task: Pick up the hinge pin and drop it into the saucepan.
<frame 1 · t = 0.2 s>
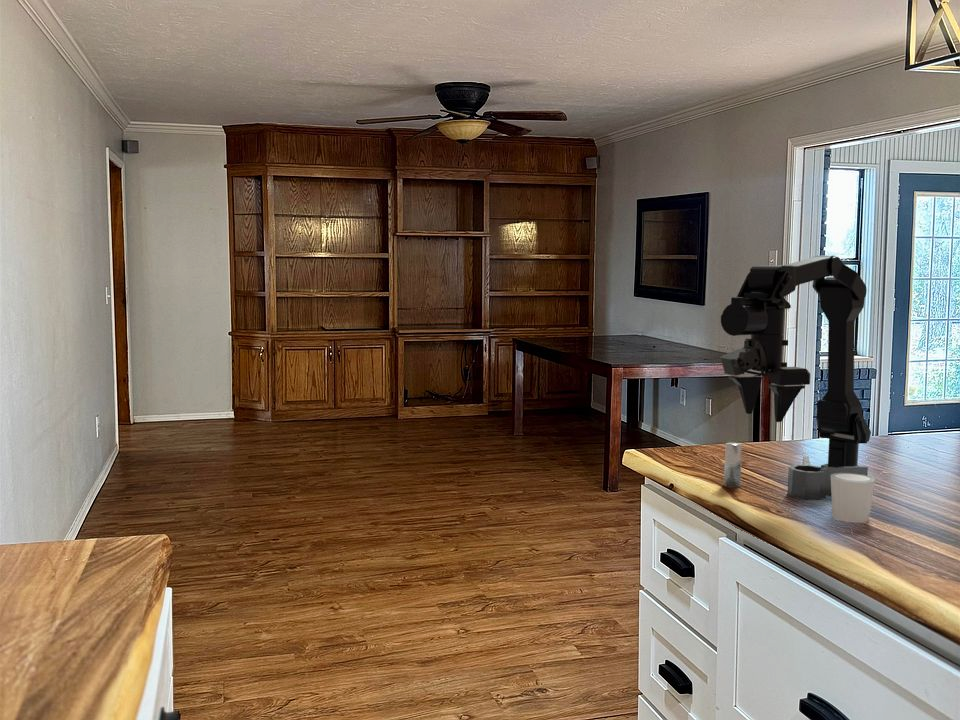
hand: (763, 417, 163), 14 cm above the worktop, fingers open, 9 cm apart
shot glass: (850, 519, 146), on the worktop
hinge pin: (732, 485, 167), on the worktop
saucepan: (806, 495, 160), on the worktop
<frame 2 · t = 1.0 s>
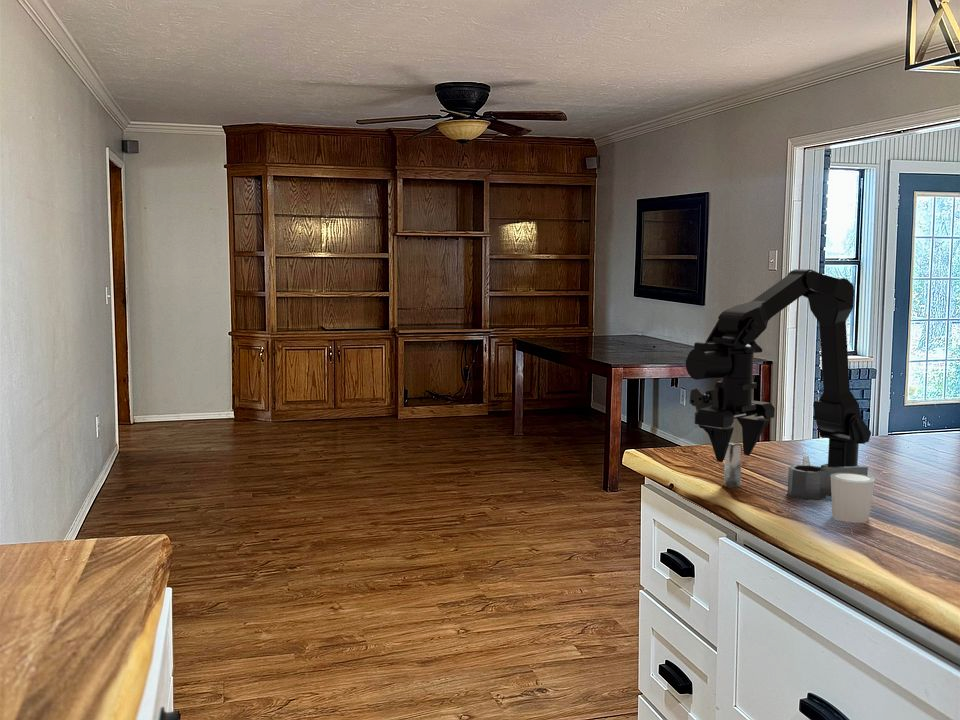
hand: (733, 458, 167), 5 cm above the worktop, fingers open, 9 cm apart
nothing on the worktop moved.
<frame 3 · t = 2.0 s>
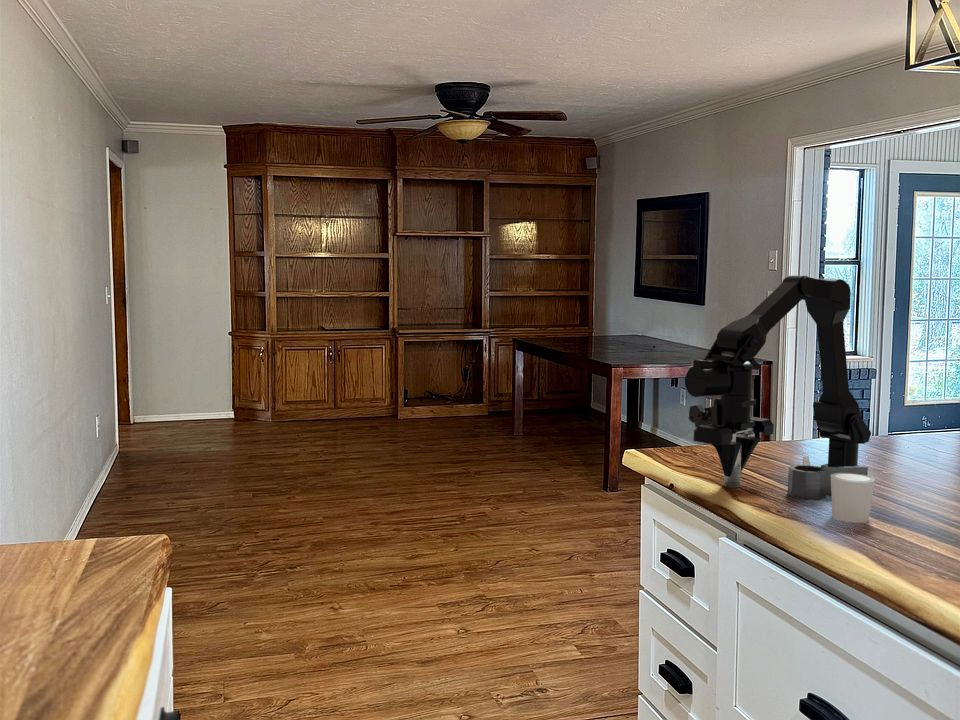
hand: (732, 474, 167), 2 cm above the worktop, fingers closed on hinge pin, 3 cm apart
hinge pin: (732, 485, 167), on the worktop, touching gripper
everything else where it was.
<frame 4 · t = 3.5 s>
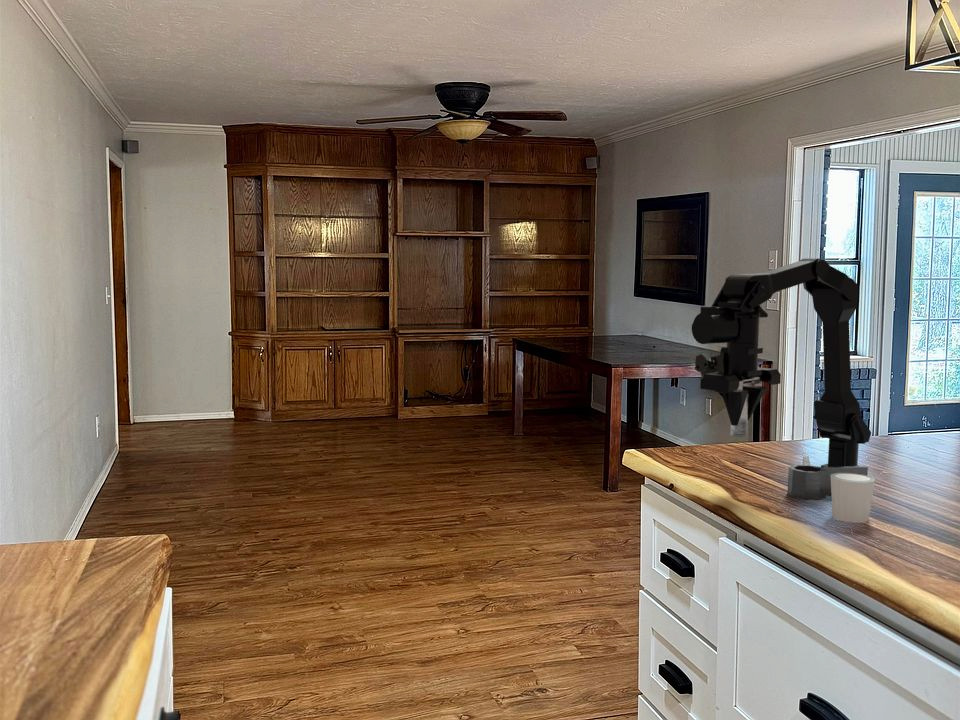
hand: (739, 424, 166), 12 cm above the worktop, fingers closed on hinge pin, 3 cm apart
hinge pin: (738, 435, 166), point 10 cm above the worktop, touching gripper
everything else where it was.
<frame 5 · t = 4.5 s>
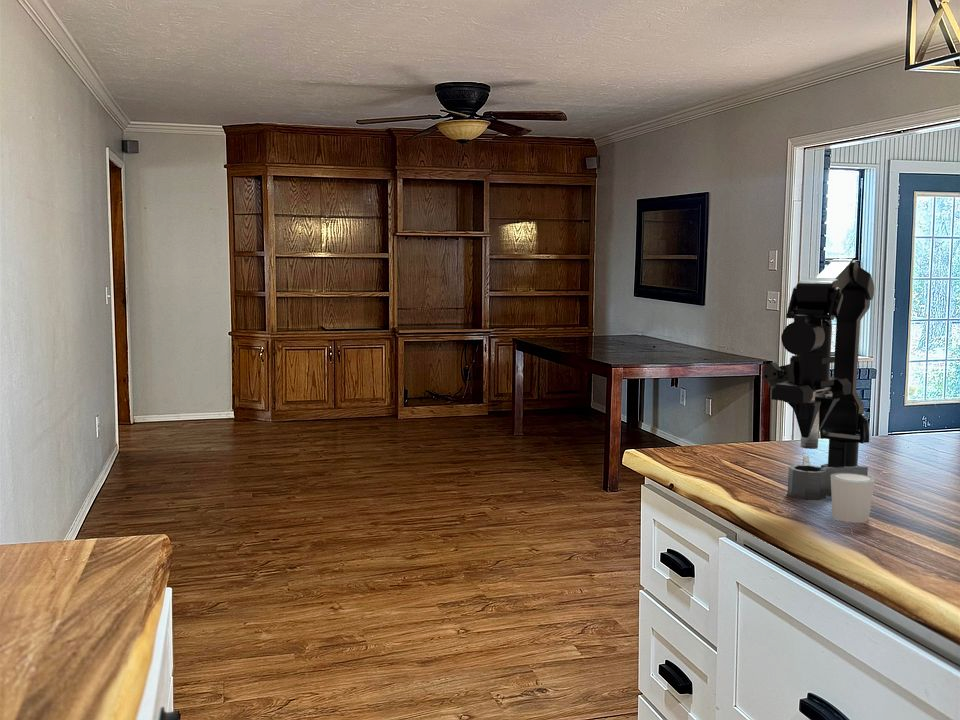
hand: (809, 436, 159), 11 cm above the worktop, fingers closed on hinge pin, 3 cm apart
hinge pin: (809, 447, 159), point 9 cm above the worktop, touching gripper
everything else where it was.
when the fingers open (8 cm above the worktop, at t = 5.1 s): hinge pin drops 6 cm, resting in saucepan.
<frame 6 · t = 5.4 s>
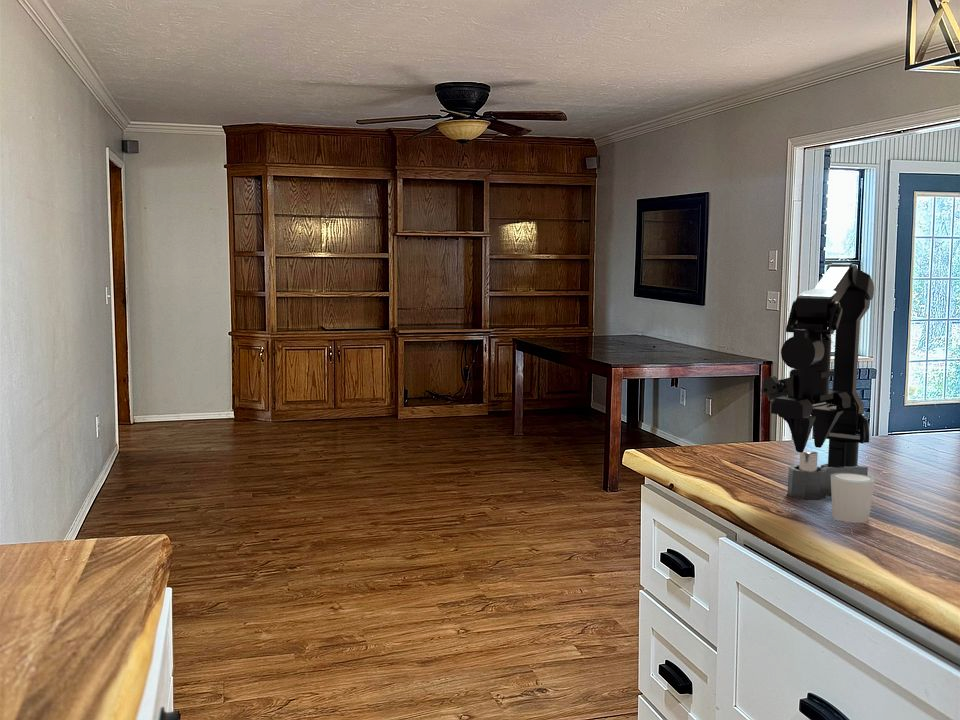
hand: (808, 449, 159), 8 cm above the worktop, fingers open, 6 cm apart
hinge pin: (806, 495, 160), resting in saucepan
everything else where it was.
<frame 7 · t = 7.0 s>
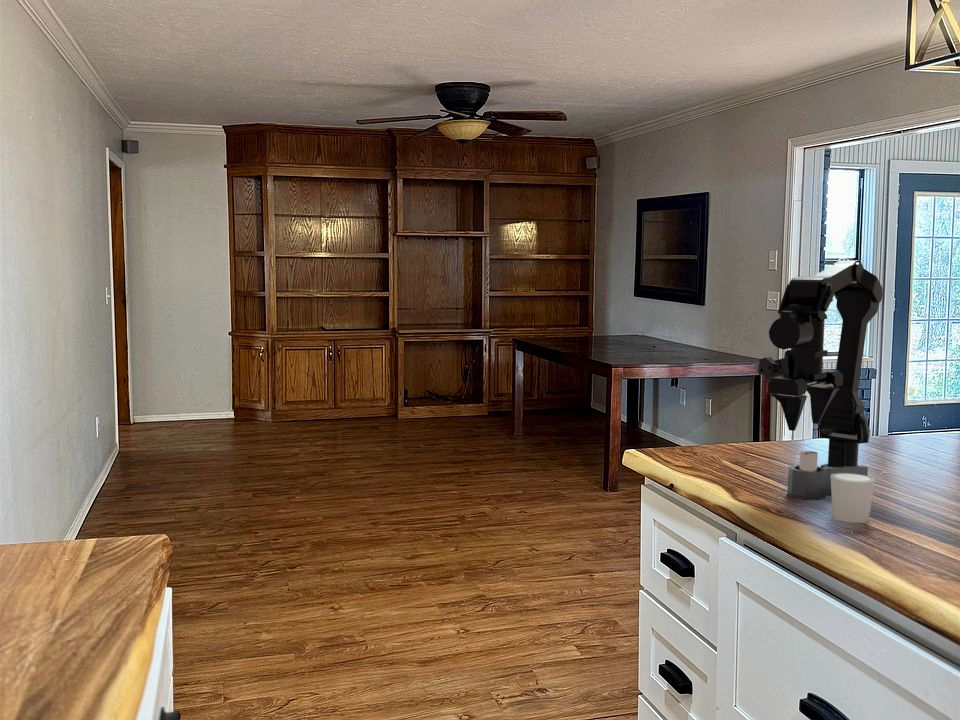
hand: (803, 426, 166), 11 cm above the worktop, fingers open, 9 cm apart
nothing on the worktop moved.
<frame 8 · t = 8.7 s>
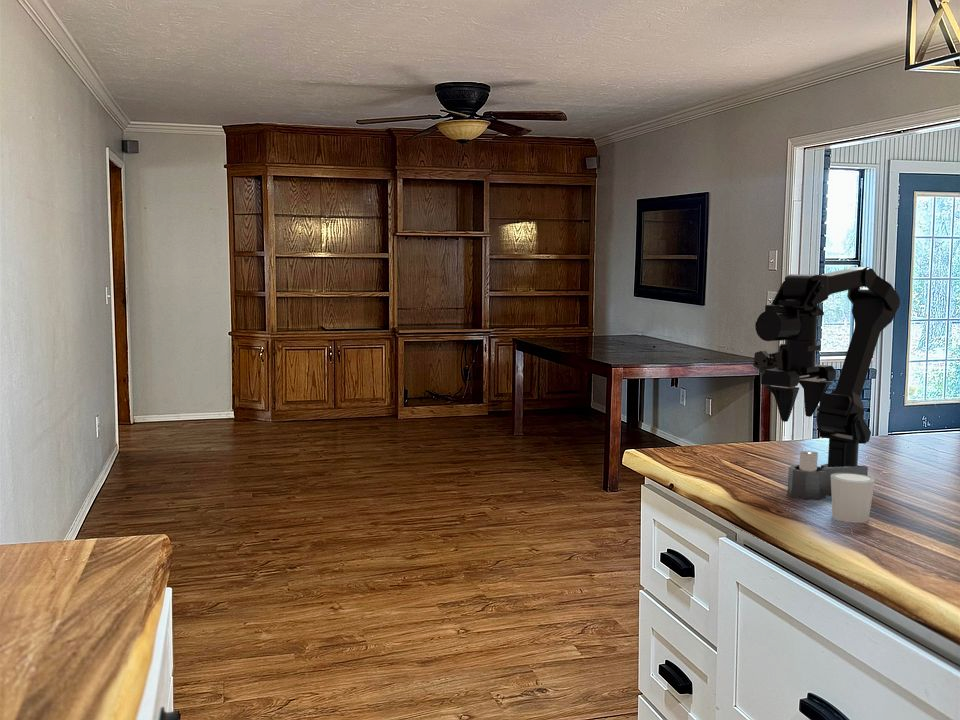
hand: (796, 418, 172), 12 cm above the worktop, fingers open, 9 cm apart
nothing on the worktop moved.
at the end: hinge pin 0.0 cm from the saucepan (horizontally); hinge pin resting in saucepan; hinge pin tilted 0° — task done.
